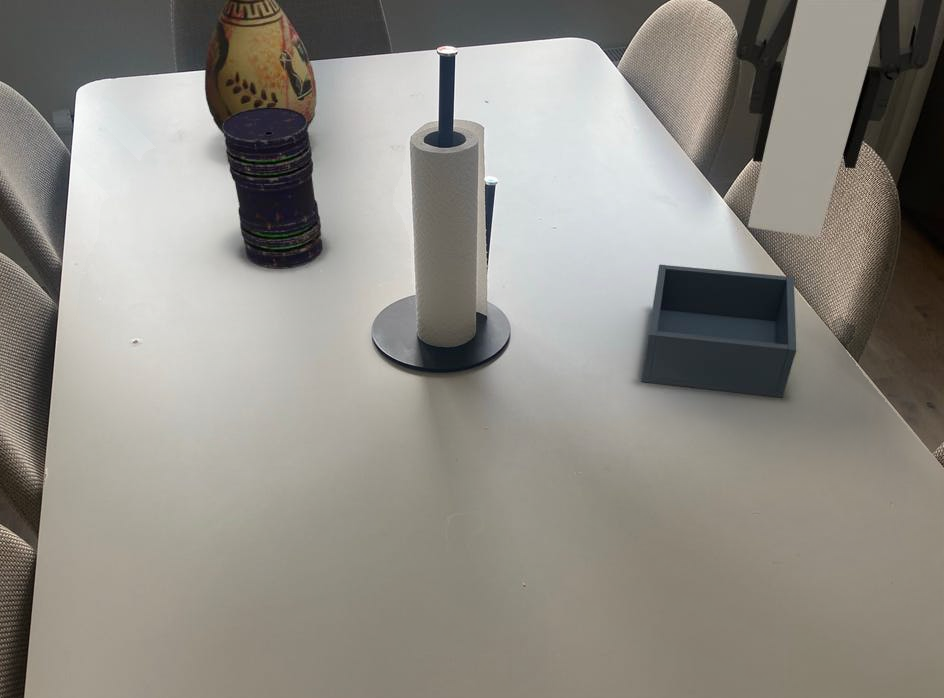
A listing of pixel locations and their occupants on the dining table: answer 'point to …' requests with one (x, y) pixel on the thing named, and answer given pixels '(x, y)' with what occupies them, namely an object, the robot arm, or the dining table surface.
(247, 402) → the dining table surface
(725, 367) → the tote
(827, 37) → the tall white rectangular prism
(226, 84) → the ceramic jug
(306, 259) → the dark blue cylinder
